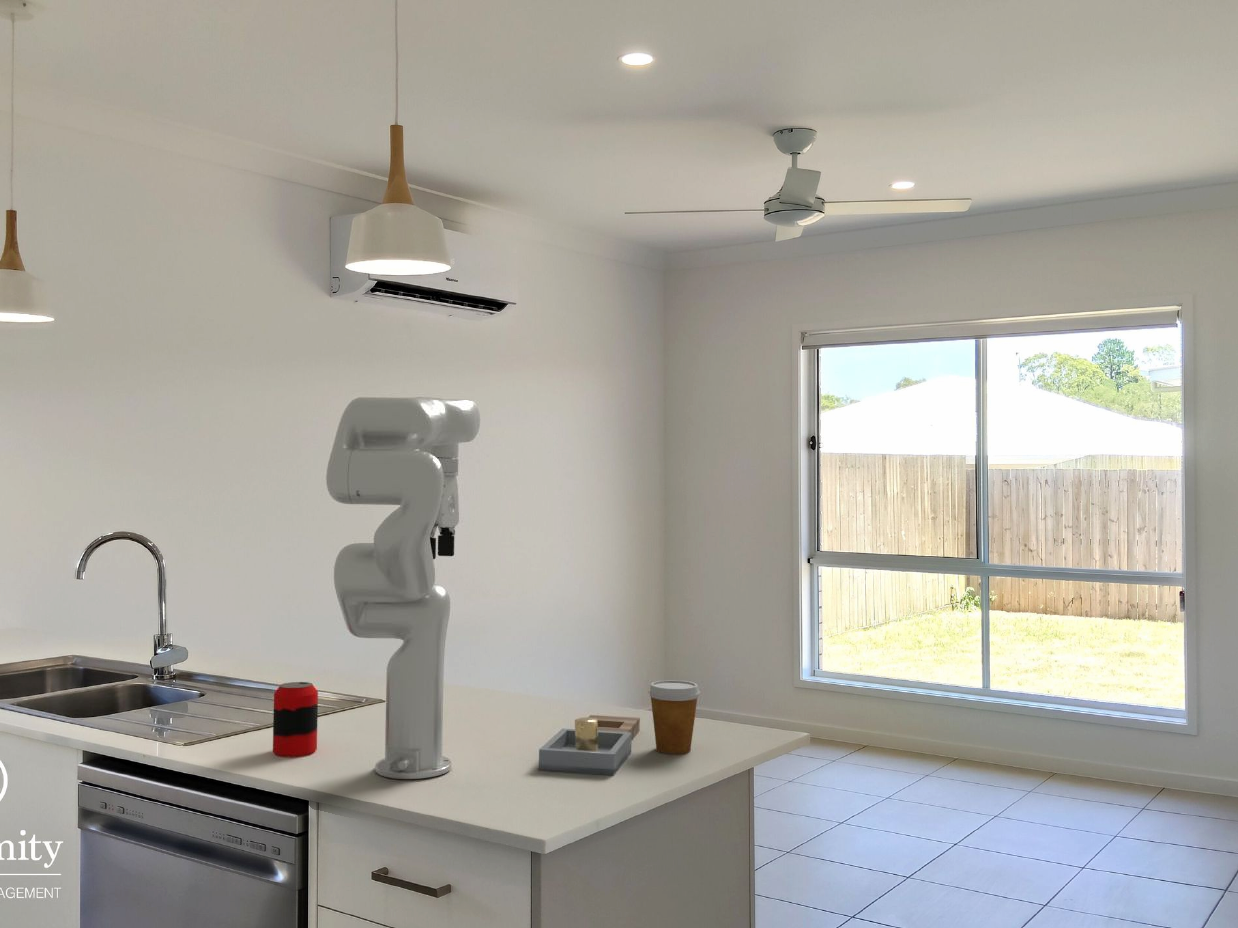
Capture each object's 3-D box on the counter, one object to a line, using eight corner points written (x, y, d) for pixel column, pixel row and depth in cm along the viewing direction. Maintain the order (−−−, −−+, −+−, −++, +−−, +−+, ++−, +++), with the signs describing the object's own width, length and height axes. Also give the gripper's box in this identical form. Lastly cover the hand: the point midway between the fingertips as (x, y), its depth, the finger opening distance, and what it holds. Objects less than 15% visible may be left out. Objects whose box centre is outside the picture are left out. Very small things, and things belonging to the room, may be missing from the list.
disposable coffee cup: (707, 748, 194) (708, 683, 194) (684, 759, 185) (685, 691, 186) (662, 741, 198) (663, 677, 199) (638, 751, 190) (639, 685, 191)
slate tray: (613, 775, 174) (614, 754, 174) (538, 770, 177) (539, 749, 177) (631, 751, 190) (631, 732, 190) (562, 747, 193) (562, 728, 193)
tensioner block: (626, 747, 193) (626, 733, 193) (573, 743, 195) (574, 730, 195) (639, 730, 207) (639, 717, 207) (590, 727, 209) (590, 714, 209)
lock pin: (598, 756, 182) (596, 722, 182) (575, 757, 182) (573, 723, 182) (599, 750, 186) (597, 716, 186) (576, 751, 186) (575, 717, 186)
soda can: (325, 749, 189) (327, 683, 189) (298, 759, 182) (299, 690, 182) (291, 745, 192) (293, 679, 192) (263, 754, 185) (264, 686, 185)
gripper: (440, 467, 190) (438, 561, 190) (472, 469, 207) (470, 555, 207) (401, 466, 192) (400, 559, 191) (436, 468, 209) (434, 554, 208)
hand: (436, 557), depth 199 cm, fingers open, 9 cm apart
